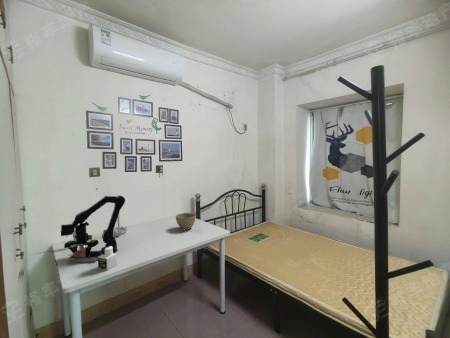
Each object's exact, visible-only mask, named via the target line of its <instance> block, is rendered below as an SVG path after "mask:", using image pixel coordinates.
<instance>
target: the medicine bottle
mask: <svg viewBox="0 0 450 338" xmlns="http://www.w3.org/2000/svg"><path fill="white" fill-rule="evenodd" d="M100 251H101V256H99V257H98V261H97V269H99V270H103V271H108V270H111V269H112V268H114V267H116V266H118V263H117V262H118V260H117V258H118V257H117V253H113V247H112V246H105V245H104V246H103V247H101V249H100Z"/></svg>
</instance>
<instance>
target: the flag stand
mask: <svg viewBox="0 0 450 338" xmlns="http://www.w3.org/2000/svg"><path fill="white" fill-rule="evenodd" d="M120 221H121V220H120V214H119V215H118V218H117V226H115V227H114V231H113V236H121V235H124V234H126V235H127V232H128V227H127V226H125V227H124V226H122V225H121V226H120V224H121V222H120ZM124 236H125V235H124ZM121 237H122V236H121Z"/></svg>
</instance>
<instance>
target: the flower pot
mask: <svg viewBox="0 0 450 338" xmlns="http://www.w3.org/2000/svg"><path fill="white" fill-rule="evenodd" d="M196 219H197V214H195V213H192V212H184V213H178V214H176V215H175V220H176V223H177V225H178V226H179V228H180V229H181V230H182V229H189V230H191V229H192V228H193V226H194V225H195V222H196ZM190 228H191V229H190Z"/></svg>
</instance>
